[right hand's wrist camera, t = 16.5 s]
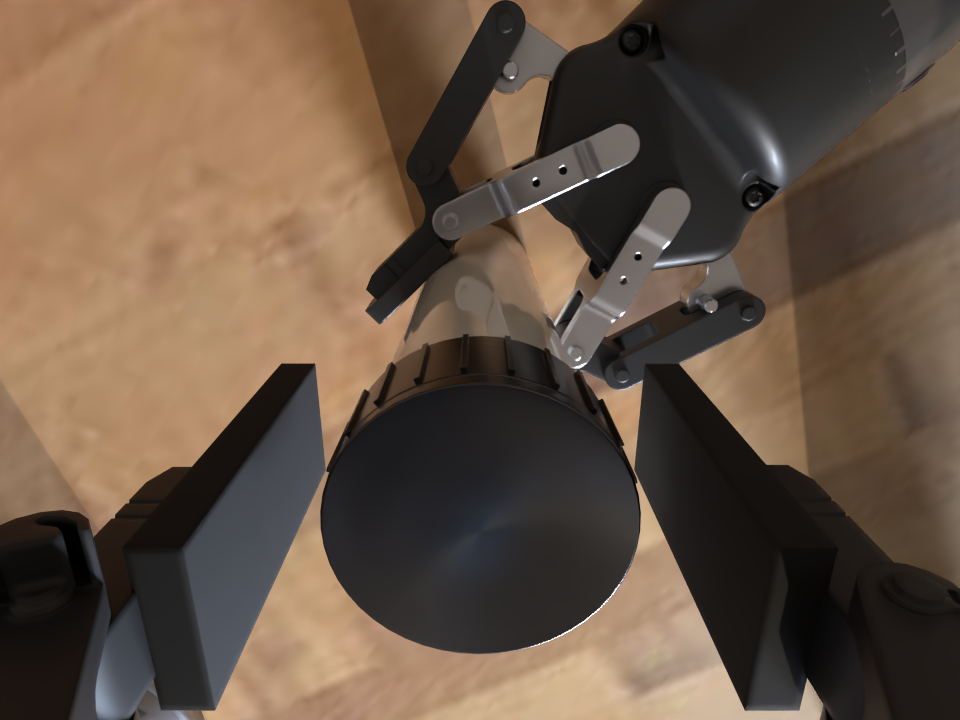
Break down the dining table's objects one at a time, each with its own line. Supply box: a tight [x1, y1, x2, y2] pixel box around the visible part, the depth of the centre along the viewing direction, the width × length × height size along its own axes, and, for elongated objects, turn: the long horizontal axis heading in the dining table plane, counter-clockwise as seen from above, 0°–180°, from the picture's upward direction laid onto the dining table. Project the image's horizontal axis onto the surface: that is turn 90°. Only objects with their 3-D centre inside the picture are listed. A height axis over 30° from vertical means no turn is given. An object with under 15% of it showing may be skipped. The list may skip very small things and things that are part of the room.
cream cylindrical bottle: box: [392, 224, 570, 366], centre depth 20 cm, size 5×5×19 cm
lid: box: [320, 334, 641, 654], centre depth 11 cm, size 5×5×2 cm
